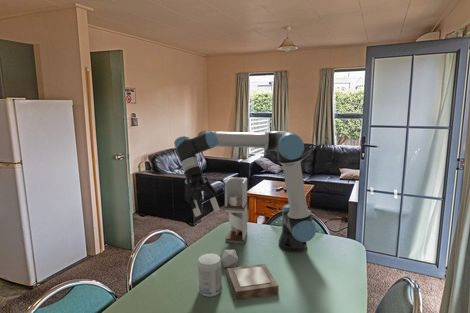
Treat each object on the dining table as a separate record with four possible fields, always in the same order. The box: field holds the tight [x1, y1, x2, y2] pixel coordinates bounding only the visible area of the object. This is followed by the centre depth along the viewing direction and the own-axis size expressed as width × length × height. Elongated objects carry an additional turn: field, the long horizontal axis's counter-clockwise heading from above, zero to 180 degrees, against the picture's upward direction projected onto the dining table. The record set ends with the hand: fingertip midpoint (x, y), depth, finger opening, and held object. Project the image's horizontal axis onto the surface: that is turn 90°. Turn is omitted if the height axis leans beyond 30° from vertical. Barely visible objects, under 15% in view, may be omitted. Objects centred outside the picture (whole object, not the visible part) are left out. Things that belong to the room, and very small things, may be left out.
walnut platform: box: [226, 263, 279, 301], centre depth 135 cm, size 18×18×4 cm
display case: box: [224, 176, 248, 244], centre depth 178 cm, size 11×11×35 cm
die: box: [220, 249, 239, 268], centre depth 150 cm, size 8×9×10 cm
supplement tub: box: [197, 253, 223, 298], centre depth 130 cm, size 10×10×15 cm
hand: (208, 213), depth 135 cm, fingers open, 13 cm apart
